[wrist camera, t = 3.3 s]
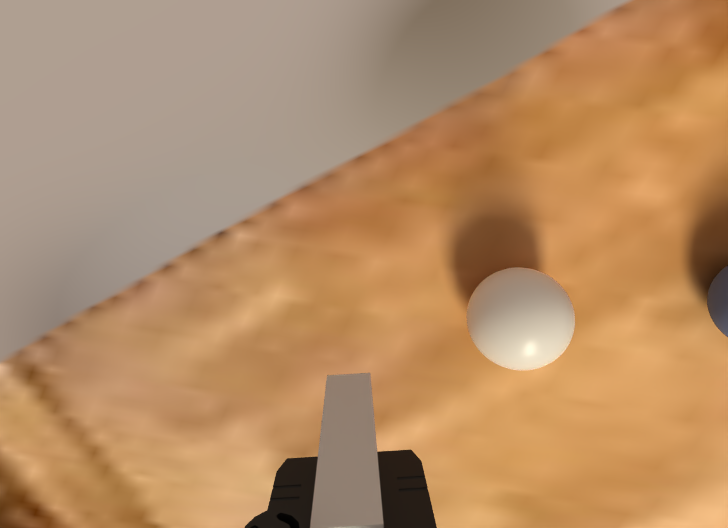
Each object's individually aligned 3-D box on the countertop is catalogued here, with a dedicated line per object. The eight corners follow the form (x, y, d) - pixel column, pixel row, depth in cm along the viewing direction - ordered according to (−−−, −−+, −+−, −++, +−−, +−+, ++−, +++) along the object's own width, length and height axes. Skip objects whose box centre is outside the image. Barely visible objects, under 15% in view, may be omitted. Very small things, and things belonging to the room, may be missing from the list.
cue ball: (455, 347, 27) (483, 393, 22) (455, 260, 26) (484, 285, 21) (544, 342, 27) (592, 386, 22) (548, 255, 26) (600, 278, 21)
